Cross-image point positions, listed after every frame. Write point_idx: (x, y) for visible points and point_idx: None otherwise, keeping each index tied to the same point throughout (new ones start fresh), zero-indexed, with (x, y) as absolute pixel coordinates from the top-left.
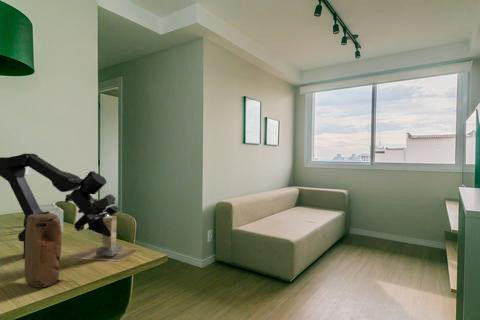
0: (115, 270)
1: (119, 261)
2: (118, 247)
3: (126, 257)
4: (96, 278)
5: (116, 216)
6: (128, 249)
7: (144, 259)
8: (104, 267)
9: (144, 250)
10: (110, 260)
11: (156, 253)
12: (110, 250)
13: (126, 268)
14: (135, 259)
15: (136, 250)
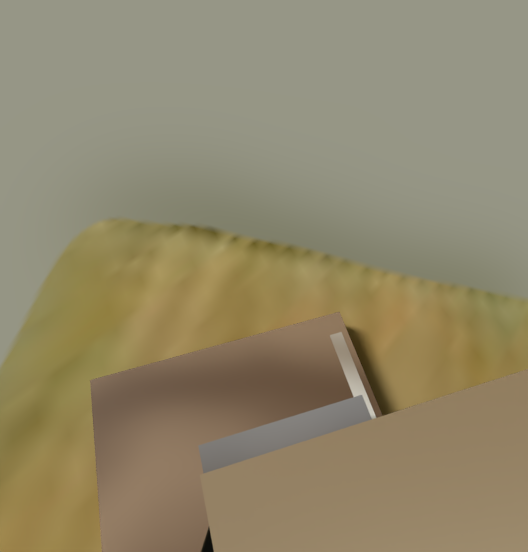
0: (397, 304)
1: (344, 324)
2: (255, 428)
3: (265, 337)
4: (525, 313)
5: (220, 470)
6: (98, 472)
7: (185, 274)
8: (410, 403)
9: (13, 396)
10: (367, 398)
11: (61, 277)
12: (368, 414)
13: (342, 271)
14: (206, 323)
15: (104, 382)
